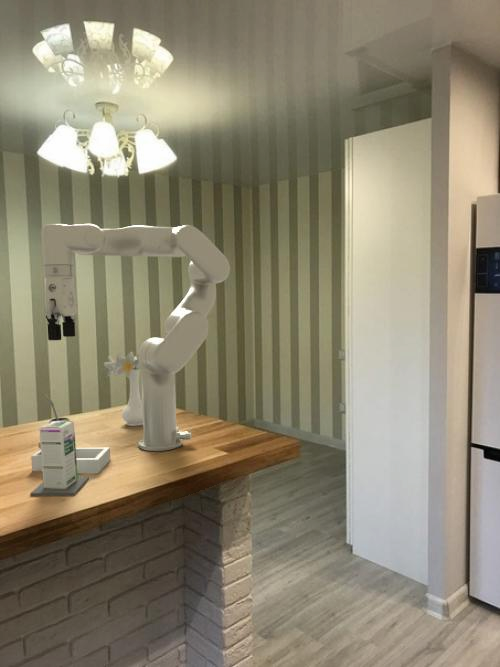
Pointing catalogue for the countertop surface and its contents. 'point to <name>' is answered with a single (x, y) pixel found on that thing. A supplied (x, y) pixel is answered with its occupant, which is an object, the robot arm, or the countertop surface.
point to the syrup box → (58, 454)
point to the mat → (68, 491)
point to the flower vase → (134, 406)
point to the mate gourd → (55, 412)
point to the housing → (81, 459)
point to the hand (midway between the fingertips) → (62, 338)
